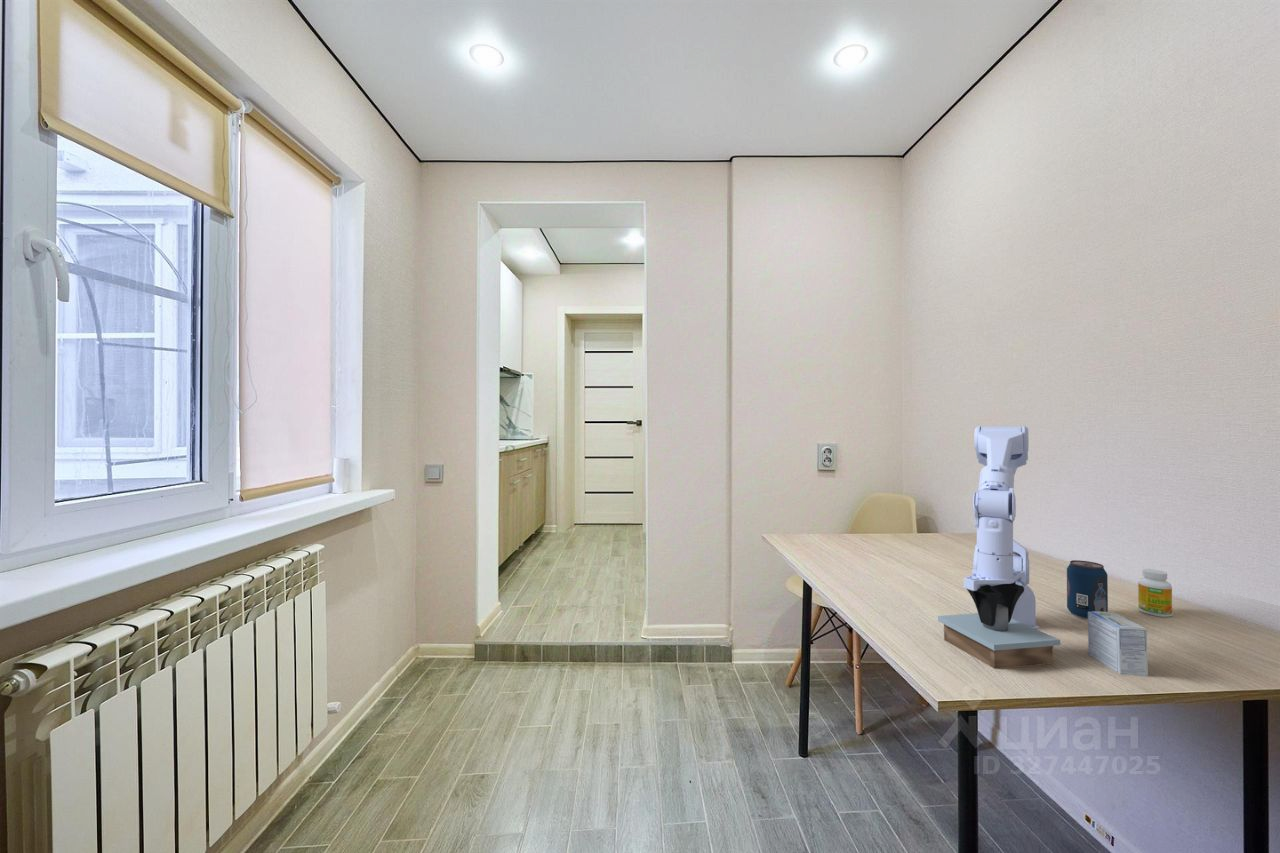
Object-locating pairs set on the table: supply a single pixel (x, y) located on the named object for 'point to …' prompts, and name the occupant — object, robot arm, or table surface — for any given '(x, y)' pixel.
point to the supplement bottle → (1155, 593)
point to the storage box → (999, 652)
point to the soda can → (1086, 588)
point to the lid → (999, 631)
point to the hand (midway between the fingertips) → (995, 622)
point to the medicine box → (1118, 643)
